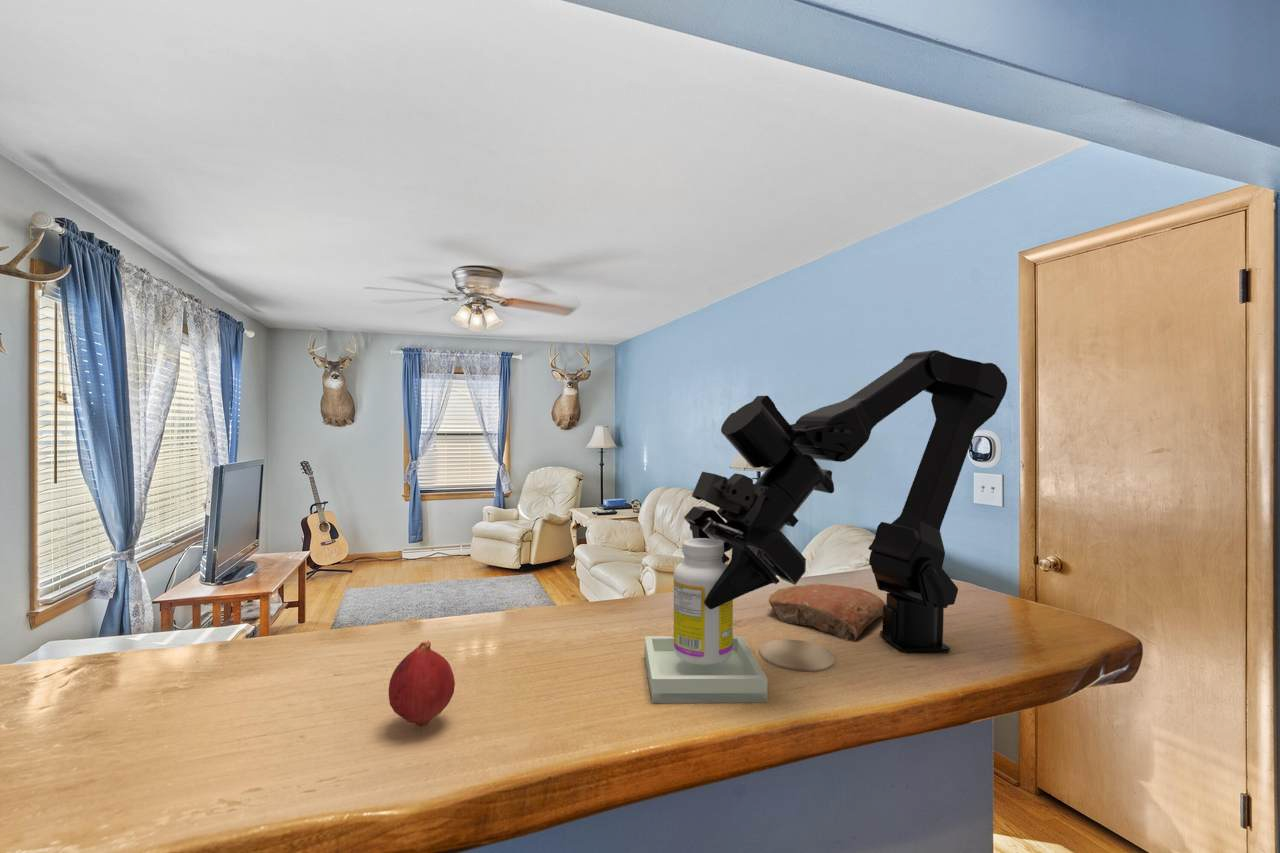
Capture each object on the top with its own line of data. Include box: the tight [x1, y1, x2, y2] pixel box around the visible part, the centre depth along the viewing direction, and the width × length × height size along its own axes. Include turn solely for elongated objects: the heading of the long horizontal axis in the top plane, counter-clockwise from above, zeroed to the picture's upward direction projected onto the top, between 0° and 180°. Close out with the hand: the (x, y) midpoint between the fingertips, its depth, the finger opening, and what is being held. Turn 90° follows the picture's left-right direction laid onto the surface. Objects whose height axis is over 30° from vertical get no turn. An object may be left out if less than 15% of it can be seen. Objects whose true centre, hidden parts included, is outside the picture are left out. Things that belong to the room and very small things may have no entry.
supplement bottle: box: [673, 538, 734, 665], centre depth 68 cm, size 7×7×13 cm
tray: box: [643, 635, 768, 704], centre depth 68 cm, size 12×12×2 cm
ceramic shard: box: [768, 583, 886, 642], centre depth 90 cm, size 15×6×15 cm
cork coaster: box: [759, 638, 836, 672], centre depth 75 cm, size 9×9×1 cm
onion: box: [388, 640, 456, 727], centre depth 57 cm, size 6×6×8 cm
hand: (692, 597), depth 68 cm, fingers closed on supplement bottle, 6 cm apart
